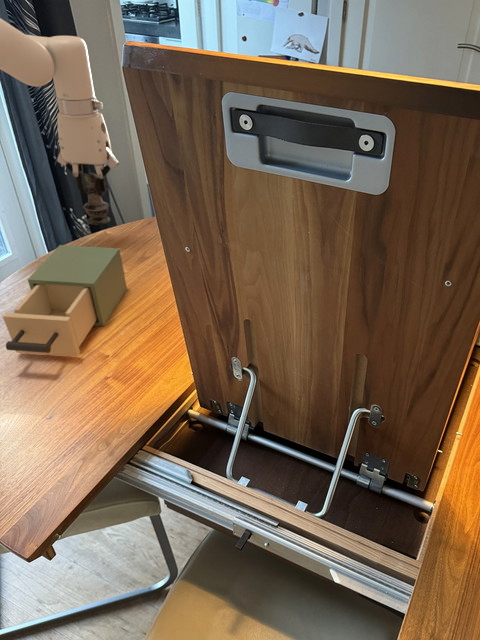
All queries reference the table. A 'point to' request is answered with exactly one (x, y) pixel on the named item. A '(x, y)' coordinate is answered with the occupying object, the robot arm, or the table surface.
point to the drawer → (51, 320)
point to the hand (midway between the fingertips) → (93, 192)
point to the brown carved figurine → (95, 202)
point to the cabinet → (86, 275)
